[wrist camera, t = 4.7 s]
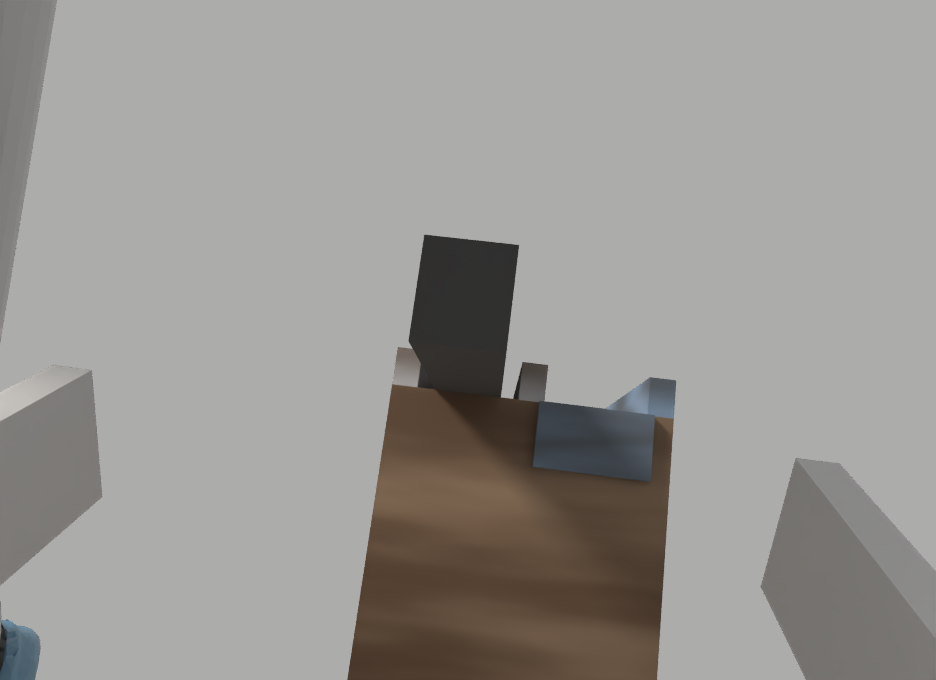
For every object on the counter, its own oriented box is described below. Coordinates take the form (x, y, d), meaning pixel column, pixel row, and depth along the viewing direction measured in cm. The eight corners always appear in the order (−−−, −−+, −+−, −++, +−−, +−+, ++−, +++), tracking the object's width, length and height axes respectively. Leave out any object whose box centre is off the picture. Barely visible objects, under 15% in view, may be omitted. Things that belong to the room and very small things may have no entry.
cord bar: (506, 352, 18) (519, 245, 19) (408, 341, 18) (424, 234, 19) (497, 425, 39) (503, 373, 39) (451, 419, 39) (458, 367, 39)
